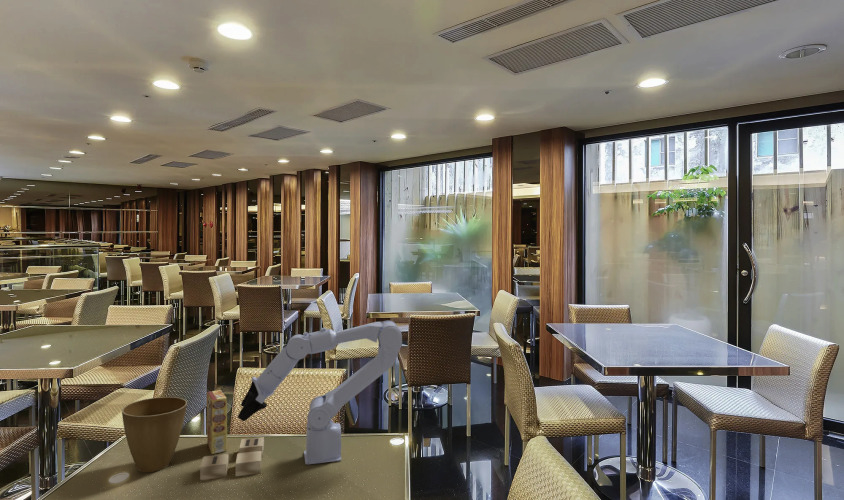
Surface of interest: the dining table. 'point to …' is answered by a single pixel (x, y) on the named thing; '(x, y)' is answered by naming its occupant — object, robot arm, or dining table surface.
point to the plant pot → (153, 430)
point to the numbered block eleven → (252, 445)
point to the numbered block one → (214, 467)
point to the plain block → (248, 463)
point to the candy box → (216, 421)
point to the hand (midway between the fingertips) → (242, 412)
